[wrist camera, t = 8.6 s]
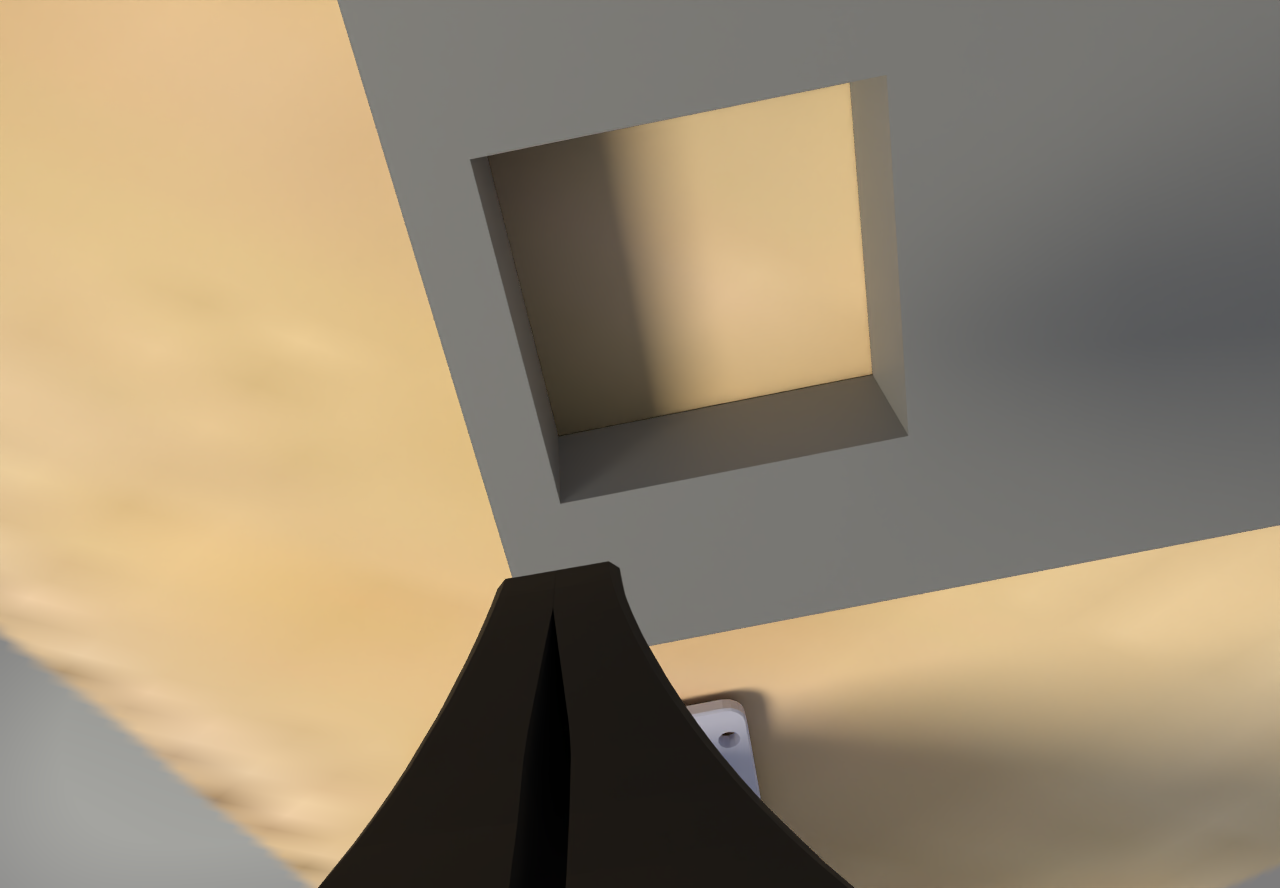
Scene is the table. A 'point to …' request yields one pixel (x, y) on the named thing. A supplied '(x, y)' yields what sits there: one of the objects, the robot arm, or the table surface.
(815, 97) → the table surface
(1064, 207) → the trap deck
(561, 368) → the table surface
